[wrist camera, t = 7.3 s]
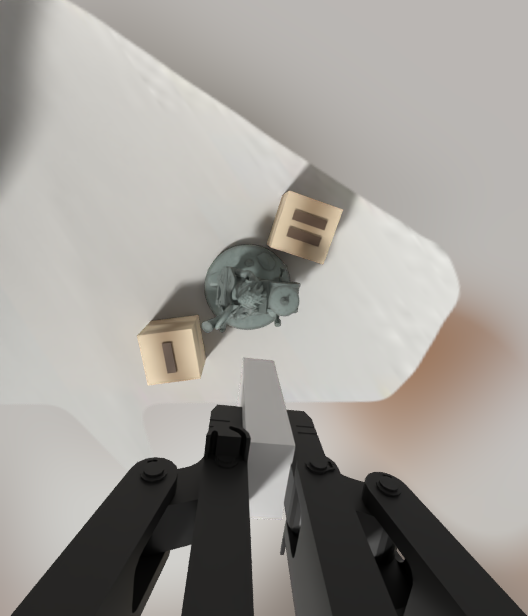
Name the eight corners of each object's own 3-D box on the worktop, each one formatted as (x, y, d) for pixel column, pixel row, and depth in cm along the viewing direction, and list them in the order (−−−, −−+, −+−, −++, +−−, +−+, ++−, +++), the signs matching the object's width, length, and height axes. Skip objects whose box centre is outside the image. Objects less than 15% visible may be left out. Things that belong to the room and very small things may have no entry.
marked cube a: (160, 364, 45) (147, 386, 39) (151, 320, 43) (136, 336, 37) (205, 358, 45) (200, 379, 39) (198, 314, 43) (191, 329, 37)
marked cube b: (266, 244, 42) (270, 247, 36) (282, 195, 41) (289, 190, 35) (312, 259, 43) (323, 264, 37) (328, 211, 41) (343, 209, 35)
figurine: (207, 240, 41) (194, 246, 30) (295, 248, 42) (316, 257, 31) (203, 324, 44) (189, 360, 32) (286, 330, 45) (301, 367, 33)
